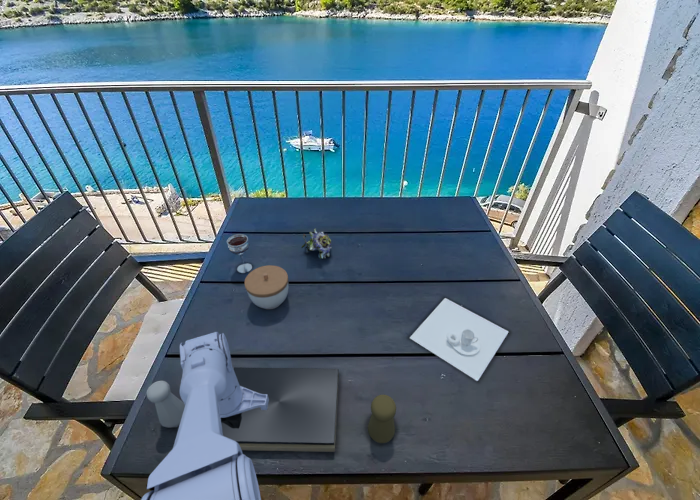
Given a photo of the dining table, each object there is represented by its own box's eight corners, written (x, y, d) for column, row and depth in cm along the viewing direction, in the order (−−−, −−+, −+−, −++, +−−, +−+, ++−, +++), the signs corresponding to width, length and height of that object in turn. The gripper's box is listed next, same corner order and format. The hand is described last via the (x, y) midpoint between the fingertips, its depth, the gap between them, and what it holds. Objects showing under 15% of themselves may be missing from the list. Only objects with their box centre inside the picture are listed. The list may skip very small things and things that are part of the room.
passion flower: (327, 267, 128) (329, 259, 116) (298, 262, 127) (297, 253, 116) (332, 238, 131) (335, 228, 120) (304, 233, 130) (303, 222, 119)
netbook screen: (334, 445, 72) (334, 443, 71) (209, 443, 72) (208, 441, 72) (338, 370, 86) (338, 368, 86) (234, 369, 87) (233, 367, 86)
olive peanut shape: (372, 446, 74) (373, 421, 67) (364, 418, 79) (365, 393, 72) (398, 439, 75) (403, 414, 68) (389, 412, 80) (393, 386, 73)
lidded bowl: (296, 308, 105) (292, 282, 98) (254, 321, 101) (246, 294, 94) (285, 281, 114) (281, 256, 107) (246, 292, 110) (239, 266, 103)
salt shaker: (184, 432, 77) (163, 402, 69) (158, 432, 77) (135, 401, 69) (193, 406, 81) (175, 375, 73) (169, 406, 82) (149, 375, 73)
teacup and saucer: (442, 343, 95) (444, 333, 92) (456, 325, 99) (458, 316, 97) (472, 361, 90) (475, 352, 88) (485, 342, 95) (489, 332, 92)
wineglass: (243, 259, 123) (235, 232, 116) (258, 264, 121) (252, 237, 113) (230, 271, 118) (222, 243, 111) (246, 276, 116) (238, 248, 109)
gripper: (267, 365, 63) (277, 403, 71) (187, 364, 63) (207, 402, 71) (258, 403, 57) (270, 440, 65) (170, 402, 57) (194, 438, 66)
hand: (237, 423), depth 68 cm, fingers closed
